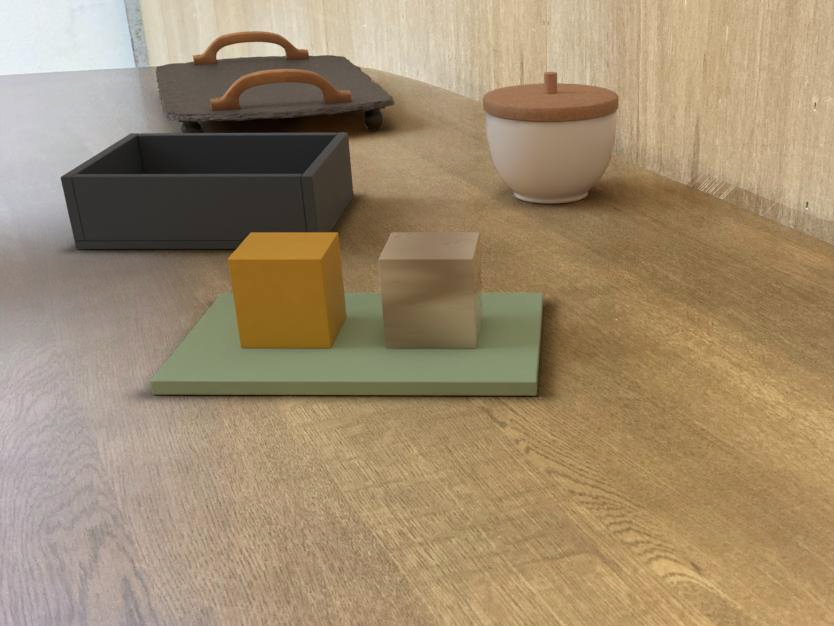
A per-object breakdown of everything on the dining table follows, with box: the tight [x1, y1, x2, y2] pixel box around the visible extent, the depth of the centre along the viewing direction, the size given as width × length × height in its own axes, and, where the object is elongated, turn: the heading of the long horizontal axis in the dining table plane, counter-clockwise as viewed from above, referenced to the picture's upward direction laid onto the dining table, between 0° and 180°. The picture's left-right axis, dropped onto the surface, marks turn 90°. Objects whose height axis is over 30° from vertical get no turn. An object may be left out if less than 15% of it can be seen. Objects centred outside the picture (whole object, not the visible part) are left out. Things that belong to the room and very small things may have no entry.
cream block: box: [377, 231, 483, 348], centre depth 63 cm, size 5×5×5 cm
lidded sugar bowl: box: [482, 71, 619, 204], centre depth 91 cm, size 11×11×9 cm
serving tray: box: [155, 30, 395, 133], centre depth 126 cm, size 39×23×6 cm, turn 18°
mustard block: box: [227, 231, 347, 348], centre depth 63 cm, size 5×5×5 cm
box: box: [60, 132, 355, 250], centre depth 86 cm, size 18×15×5 cm
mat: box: [149, 291, 544, 397], centre depth 65 cm, size 20×14×1 cm
